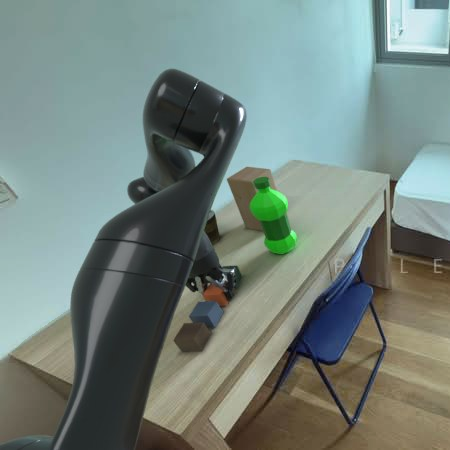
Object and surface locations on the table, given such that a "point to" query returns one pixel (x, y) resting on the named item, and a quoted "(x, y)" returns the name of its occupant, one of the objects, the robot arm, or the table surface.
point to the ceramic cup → (212, 228)
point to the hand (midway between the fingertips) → (221, 299)
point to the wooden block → (248, 192)
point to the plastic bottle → (272, 217)
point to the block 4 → (236, 274)
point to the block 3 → (192, 337)
